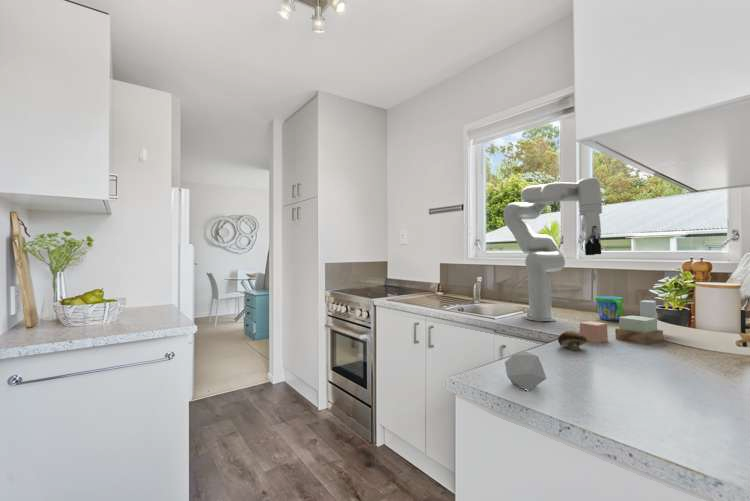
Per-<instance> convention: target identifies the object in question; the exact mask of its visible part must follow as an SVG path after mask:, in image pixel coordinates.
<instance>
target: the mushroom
mask: <svg viewBox="0 0 750 501" xmlns="http://www.w3.org/2000/svg"><path fill="white" fill-rule="evenodd" d="M557 341H558V343H559V345H560V346H561V347H564V348H569V350H573V351H580V350H581V348H580V346H583V345H585V344H586V343H587V342H588V341H587V339H586V337H585V336H584V335H582V334H581V333H580V332H577V331H574V330H566V331H564V332H562V333H561V334H560V335H559V336H558V338H557Z"/></svg>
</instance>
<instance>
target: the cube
mask: <svg viewBox="0 0 750 501" xmlns="http://www.w3.org/2000/svg"><path fill="white" fill-rule="evenodd" d="M579 333H581V334H582V335H584V336H585V337H586V339H587V341H586V342H591V343H597V344H599V343H604V342H608V339H609V338H608V337H609V335H608V323H605V322H598V321H593V320H592V321H591V320H587V321H582V322H579Z"/></svg>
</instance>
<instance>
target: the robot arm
mask: <svg viewBox="0 0 750 501" xmlns="http://www.w3.org/2000/svg"><path fill="white" fill-rule="evenodd" d="M600 181H601V180H600V179H599V178H598V177H587V178H581V179H580V180H578V181H577V182H552V183H545V184H535V185H529V186H526V187H525V188H523V189H522V191H521V192H520V197H521V199H522V202H521V201H520V202H519V201H517V202H516V201H515V202H511V203H508V204H507V205H505V207H504V209H503V220H504V223H505V226H506V227H507V228H508V230H509V231H510V232H511V234H512V236H513V238H514V239H515V241H516V242H517V244H518V246H519V249H520V250H521V251H522V252H523V253H524V254H527V256H526V257H525V261H524V262H525V268H526V272H527V273H526V274H527V280H528V282H527V284H528V286H527V287H528V308H524V309H523V310H522V313H524V314H527V315H525V319H526V320H527V319H529V320H528V321H531V320H535V321H534V322H541V321H550V322H555V321H556V320H557V319H556V317H555V316H553V313H552V312H553V311H552V310H553V309H552V308H553V307H552V282H551V278H550V276H549V274H548V273H547V272H549V273H550V272H554V273H555V272H559V271H562V270H563V269H564V267H565V264H566V260H565V257H564V255H563V253H562V251H561V249H560V247H559V246H558V244H556V242H555V240H554V239H553V237H552V236H550V235H548V234H541V233H540V234H539V233H538V234H537V233H535V232H534V231H533V230H532V229H531V226H530V225H529V224H527V223H526V222H525V221H524V220H535V219H537V218H538V217H540V215H542V213H544V211H545V210H546V208H548V206H549V205H550V204H551V203H553V202H574V203H575V202H577V203H578V216H581V222H580V223H581V224H580V226H581V240H582V241H584V251H585V256H595V255H602V244H601V237H602V229H601V225H602V224H601V216H600V214H602V213H603V207H602V195H601V194H602V191H601V182H600Z"/></svg>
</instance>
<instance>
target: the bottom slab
mask: <svg viewBox="0 0 750 501" xmlns="http://www.w3.org/2000/svg"><path fill="white" fill-rule="evenodd" d="M614 330H615V333H614V334H615V340H620V341H627V342H631V343H637V344H641V345H648V346H649V345H653V344H656V343H660V342H664V330H663V329H658V330H656V331H652V332H648V333H643V332H636V331H630V330H624V329H619V327H618V328H615V329H614Z"/></svg>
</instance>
